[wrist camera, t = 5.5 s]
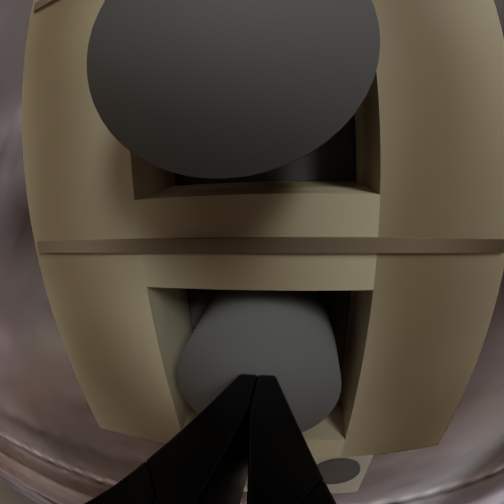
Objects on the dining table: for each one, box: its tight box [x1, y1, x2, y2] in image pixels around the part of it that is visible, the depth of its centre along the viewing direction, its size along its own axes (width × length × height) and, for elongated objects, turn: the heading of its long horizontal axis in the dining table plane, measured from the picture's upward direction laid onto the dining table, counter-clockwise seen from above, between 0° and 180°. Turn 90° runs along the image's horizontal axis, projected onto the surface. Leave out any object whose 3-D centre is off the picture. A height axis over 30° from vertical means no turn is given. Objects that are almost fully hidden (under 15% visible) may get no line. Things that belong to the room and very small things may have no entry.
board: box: [22, 0, 504, 458], centre depth 6 cm, size 12×21×3 cm, turn 2°
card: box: [244, 455, 373, 494], centre depth 11 cm, size 9×5×1 cm, turn 92°
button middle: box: [87, 0, 380, 179], centre depth 4 cm, size 4×4×3 cm
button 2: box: [177, 289, 341, 432], centre depth 8 cm, size 4×4×3 cm
